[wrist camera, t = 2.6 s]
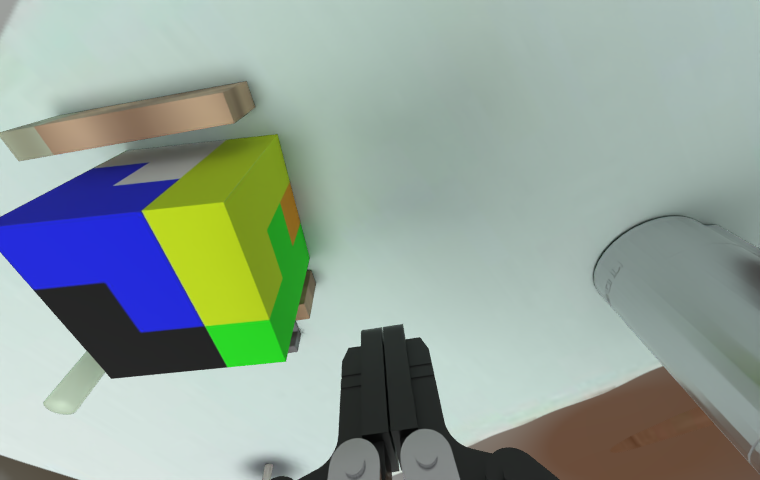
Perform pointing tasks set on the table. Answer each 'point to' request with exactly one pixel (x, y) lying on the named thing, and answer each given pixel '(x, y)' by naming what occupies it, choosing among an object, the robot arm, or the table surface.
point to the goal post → (75, 386)
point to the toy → (267, 472)
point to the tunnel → (144, 136)
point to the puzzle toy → (169, 256)
